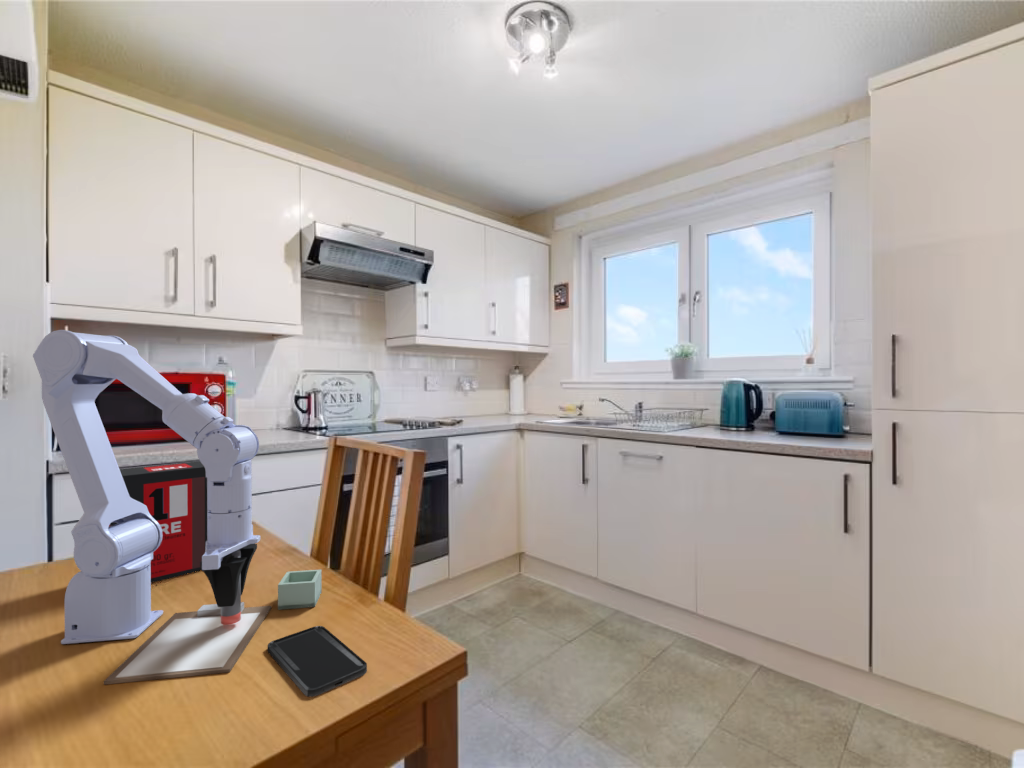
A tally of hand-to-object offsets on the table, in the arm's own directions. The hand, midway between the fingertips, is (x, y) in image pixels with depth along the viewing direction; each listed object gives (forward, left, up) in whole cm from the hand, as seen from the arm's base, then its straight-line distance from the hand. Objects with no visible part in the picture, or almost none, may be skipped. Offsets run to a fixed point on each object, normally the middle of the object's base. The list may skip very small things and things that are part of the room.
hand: (230, 600), depth 74 cm
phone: (+14, -11, -5) cm, 18 cm away
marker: (0, 0, -3) cm, 3 cm away
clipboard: (-3, -3, -4) cm, 6 cm away
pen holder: (+8, +8, -4) cm, 12 cm away
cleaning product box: (-21, +26, -4) cm, 34 cm away
